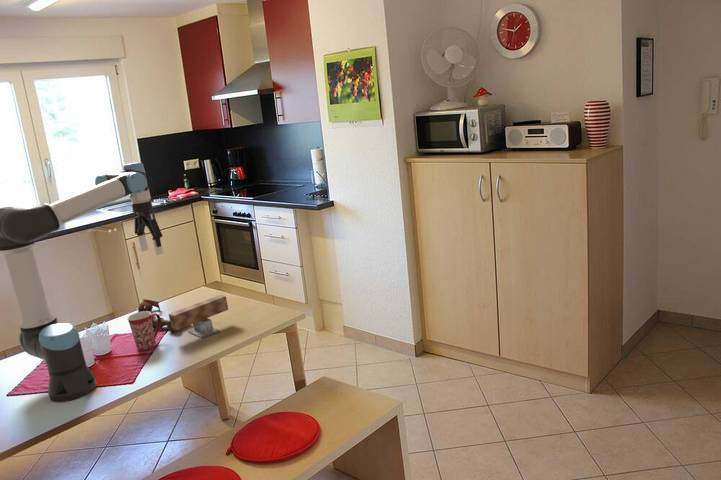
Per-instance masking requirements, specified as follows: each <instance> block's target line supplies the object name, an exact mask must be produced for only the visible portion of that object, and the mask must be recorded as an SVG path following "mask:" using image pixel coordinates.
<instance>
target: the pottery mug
mask: <svg viewBox="0 0 721 480" xmlns="http://www.w3.org/2000/svg"><path fill="white" fill-rule="evenodd" d="M153 307H155V308H157V309H158V312H160V311H161V307H160V302H159V301H156V300H152V299H145V298H144V299H142V301H141V302H140V303H139V305H138V310H137V312H142V311H149V312H151V314H153V312H152V311H153V309H154V308H153Z"/></svg>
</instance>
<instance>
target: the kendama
mask: <svg viewBox="0 0 721 480" xmlns="http://www.w3.org/2000/svg"><path fill="white" fill-rule="evenodd" d="M160 318H161V324H160V328H159V329H163V328H164V327H165V326H166V328H167V330H168V332H170V333H171V334H172V333H173V334H174V333H175V334H176V333H177V332H179V330H180V329H178V330H175V329H173V328H171V323H170V319H169V320H167V319H164V318H163V317H160ZM157 322H158V319H157V316H154V317H153V320H152V324H153V330H155V329H156V327H157Z"/></svg>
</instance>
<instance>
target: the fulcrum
mask: <svg viewBox="0 0 721 480" xmlns="http://www.w3.org/2000/svg"><path fill="white" fill-rule="evenodd" d="M192 326H193V328H191V329H190V330H187V333H188V334H191V335H194V336H196V337H198V338H200V339H206V338H208V337H210V336H212V335H216V334H217V333H220V332H221V331H220V329H217V328H215V327H214V326H213V322H212V319H211V318H209V317H208V318H206V319H203V320H201V321H198V322H196V323H193V324H192Z"/></svg>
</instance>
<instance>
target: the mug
mask: <svg viewBox="0 0 721 480" xmlns="http://www.w3.org/2000/svg"><path fill="white" fill-rule="evenodd" d="M153 317H156V318H157V319H158V322H157V327H156V328H155V329H153V324H152V320H153ZM161 318H162V317H161V316H160V314H159V313H155V312H154V313H151V312H149V311H142V312H138V311H137V312H136V313H132V314H130V315H129V316H128V317H127V318H126V319H127V321H128V323H129V326H130V331H131V333H132V336H133V337H132V338H133V339H134V343H135V345H136V347H135V348H136V349H137V351H141V350H142V351H147V350H151V349H152V348H154V347H155V346H156V345H157V341H156V338H157V335H158V333H159V330H160V329H161V328H160V324H161Z"/></svg>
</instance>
